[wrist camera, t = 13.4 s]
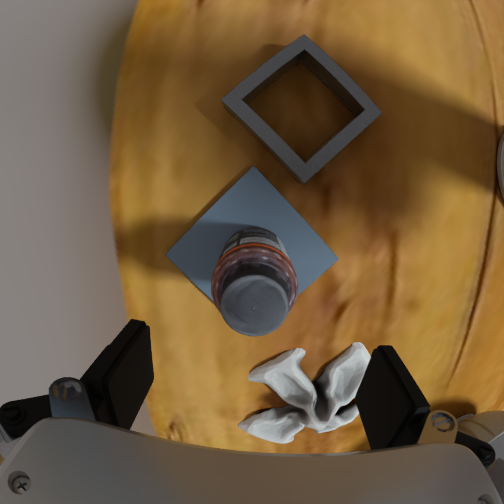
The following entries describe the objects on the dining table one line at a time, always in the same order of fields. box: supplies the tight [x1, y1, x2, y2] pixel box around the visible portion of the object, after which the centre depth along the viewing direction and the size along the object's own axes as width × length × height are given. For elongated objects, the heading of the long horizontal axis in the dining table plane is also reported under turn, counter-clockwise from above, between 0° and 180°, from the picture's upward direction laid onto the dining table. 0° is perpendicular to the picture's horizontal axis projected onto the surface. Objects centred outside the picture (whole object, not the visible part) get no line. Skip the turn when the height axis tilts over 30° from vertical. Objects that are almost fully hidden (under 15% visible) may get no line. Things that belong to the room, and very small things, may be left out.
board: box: [165, 166, 339, 302], centre depth 27 cm, size 12×12×1 cm
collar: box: [221, 35, 382, 184], centre depth 23 cm, size 10×10×3 cm
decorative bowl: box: [456, 411, 504, 460], centre depth 31 cm, size 27×27×12 cm
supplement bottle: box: [211, 227, 298, 336], centre depth 22 cm, size 6×6×11 cm
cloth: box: [238, 342, 371, 443], centre depth 30 cm, size 22×19×6 cm
